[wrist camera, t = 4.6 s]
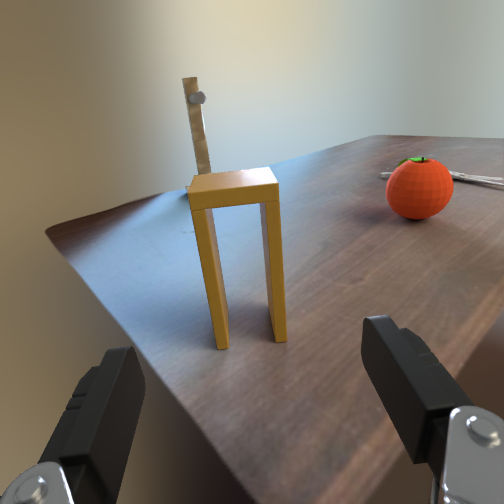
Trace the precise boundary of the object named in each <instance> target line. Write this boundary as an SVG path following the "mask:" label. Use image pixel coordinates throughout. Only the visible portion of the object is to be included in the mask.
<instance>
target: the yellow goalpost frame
mask: <svg viewBox="0 0 504 504" xmlns="http://www.w3.org/2000/svg"><path fill="white" fill-rule="evenodd" d="M188 199H189V204H190V210H191V214H192V220H193V225H194V230H195V235H196V240H197V246H198V251H199V256H200V261H201V267H202V272H203V277H204V282H205V287H206V293H207V298H208V303H209V308H210V314H211V319H212V324H213V329H214V334H215V340H216V345H217V349H218V350H221V349H228V348H229V320H228V307H227V300H226V294H225V288H224V282H223V275H222V269H221V263H220V256H219V250H218V244H217V238H216V231H215V225H214V219H213V212H212V208H220V207H228V206H237V205H246V204H255V203H260V213H261V224H262V236H263V248H264V259H265V271H266V283H267V294H268V306H269V312H270V317H271V322H272V327H273V331H274V336H275V341H276V343H278V342H286V341H287V327H286V309H285V291H284V273H283V255H282V237H281V219H280V202H279V184H278V182H277V180H276V178H275V177H274V175H273V173H272V172H271V170H270V168H269V167H265V168H256V169H247V170H238V171H229V172H220V173H211V174H202V175H195V176H194V177H193V180H192V183H191V185H190V188H189V191H188Z"/></svg>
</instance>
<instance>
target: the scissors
mask: <svg viewBox="0 0 504 504" xmlns="http://www.w3.org/2000/svg"><path fill="white" fill-rule="evenodd" d="M449 172H450V174H451V177H452V178H459V180H464V179H467V180H472V181H478V182H483V183H489V184H495V185H501V186H504V184H501V183H496V182H491V181H487V180H482V179H494V180H504V178H495V177H484V176H472V175H466V174H463V173H458V172H453V171H449ZM391 174H392V173H380V177H390V176H391Z"/></svg>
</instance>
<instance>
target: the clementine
mask: <svg viewBox="0 0 504 504" xmlns="http://www.w3.org/2000/svg"><path fill="white" fill-rule="evenodd" d="M407 160H409V161H407ZM405 161H407V162H405ZM404 162H405V163H404ZM403 163H404V164H403ZM452 193H453V180H452V177H451V174H450V172H449V171H448V169H447V168H446V167H445V166H444V165H442V164H441V163H440V162H438V161H436V160H432V159H425V158H424V157H422V158H421V157H419V158H410V159H404V160H402V161H401V162H400V163H399V165H398V166H397V169H396V170H395V171H394V172H393V173H392V174H391V176H390V178H389V180H388V183H387V187H386V198H387V200H388V203H389V205H390V206H391V208H392V209H393V210H394V211H395V212H396V213H398V214H399V215H401V216H403V217H405V218H410V219H425V218H428V217H430V216H433V215H435V214H437V213H438V212H440V211H441V210H442V209H443V208H444V207H445V206H446V205H447V203H448V202H449V200H450V199H451V196H452Z"/></svg>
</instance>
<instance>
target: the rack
mask: <svg viewBox="0 0 504 504" xmlns="http://www.w3.org/2000/svg"><path fill="white" fill-rule="evenodd" d="M182 81H183V87H184V93H185V99H186V104H187V110H188V116H189V122H190V127H191V133H192V140H193V145H194V151H195V157H196V163H197V169H198V175H202V174H211V167H210V161H209V154H208V148H207V142H206V134H205V129H204V121H203V115H202V108H201V104H203V103H204V102H205V101H206V96H205V94H204V93H203V92H202V91H199V88H198V82H197V77H190V78H183V79H182ZM189 188H190V186H186V192H187V195H188V191H189Z"/></svg>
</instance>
